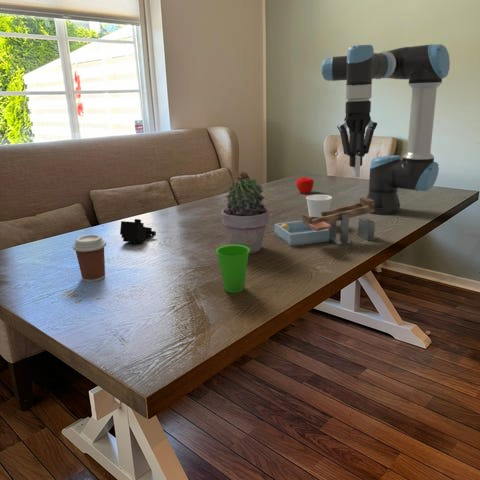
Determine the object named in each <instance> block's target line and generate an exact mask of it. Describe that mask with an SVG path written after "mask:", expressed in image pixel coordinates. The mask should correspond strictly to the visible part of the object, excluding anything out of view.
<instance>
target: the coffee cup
mask: <svg viewBox="0 0 480 480" xmlns="http://www.w3.org/2000/svg"><path fill="white" fill-rule="evenodd" d="M106 246H107V241H106V240H104V239H103V237H102V236H101V235H100V234H86V235H81V236H78V237H77V238H76V239H75V242H74V243H73V244H72V250H73V251H75V253H76V258H77V262H78V265H79V271H80V274H81V279H82V281H84V282H86V283H87V282H88V283H93V282H98V281H99V282H100V281H101V280H103V279H105V278H106V262H105V247H106Z"/></svg>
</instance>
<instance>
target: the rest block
mask: <svg viewBox="0 0 480 480" xmlns="http://www.w3.org/2000/svg"><path fill="white" fill-rule="evenodd" d="M375 224H376V222H375V221H373V220H371V219H369V218H368V217H359V218H358V225H357V227H358V229H357V236H358V237H360V238H362V239H364V240H365V241H367V242H368V241H369V242H370V241H374V240H375V230H376V229H375V227H376V225H375Z"/></svg>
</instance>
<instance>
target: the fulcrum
mask: <svg viewBox="0 0 480 480" xmlns="http://www.w3.org/2000/svg"><path fill="white" fill-rule="evenodd" d="M332 209H333V208H331V209H330V208H329V210H332ZM337 222H338V221H336V222H332V223H328V224H330V225H331V228H328V230H329V241H328V242H331V243H333V244H334V245H335V246H337V247H341V246H343V247H344V246H350V245H352V242H351V240H349V227H350V226H349V225H350V223H349V222H350V218H349V215H348V214H346V215H341V220H340V233H339V234H340V235H339V234H337Z"/></svg>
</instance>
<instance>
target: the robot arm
mask: <svg viewBox="0 0 480 480" xmlns="http://www.w3.org/2000/svg"><path fill="white" fill-rule="evenodd" d="M450 64H451V62H450V54H449V52H448V49H447V48H446V46H445V45H443V44H436V43H435V44H432V43H431V44H426V45H415V46H404V47H399V48H394V49H391V50H384V51H380V52H374V46H373V45H372V44H357V45H351V46H350V47H348V49H347V55H341V56H340V55H339V56H331V57H326V58H325V59H324V60H323V62H322V64H321V75H322V78H323V79H324V80H325V81H328V82H329V81H331V82H338V81H346V85H345V86H346V87H345V88H346V89H345V100H347V101H345V117H344V119H343V120H344V121H343V122H342V123H341V124H337V125H336V127H337V129H338V131H339V133H340V139H341V144H342V150H343V154H344V155H345V156H346V155H347V156H349V164H348V165H349V167H351V169H350V171H351V172H350V173H351V175H350V176H351V177H352V178H360V174H361V167H362V165H363V157H365V155H367V154H369V152H370V148H371V144H372V140H373V137H374V132H375V130H376V128H377V127H378V123H377V122H374V121H373V120H372V117H371V115H370V114H371V111H372V109H371V108H372V101H371V100H370V99H371V98H372V93H373V92H372V87H373V80H374V79H375V80H382V79H393V80H408V85H409V86H410V88H411V89H412V90H411V102H410V103H411V104H410V115H409V126H408V138H407V139H408V140H407V149H406V150H407V151H406V153H404V154H403V155H402V159H401V156H400V155H383V156H377V157H374V158H371V160H370V166H369V181H368V193H367V196H366V198H369V199H372V200H374V210H375V212H371V213H370V214H374V215H394V214H398V213H400V211H401V203H400V199H399V196H398V189H401V190H402V189H403V190H410V191H416V192H427V191H429V190H431V189H432V188H433V186H435V185H434V184H435V183H436V180H437V178H438V176H439V170H440V169H439V163H438V162H436V161H435V156H434V155H433V153H431V151H432V150H431V149H432V139H433V131H434V130H433V128H434V122H435V121H434V118H435V110H436V101H437V100H436V99H437V90H438V87H440V86H441V84H442V83H443V79H445V78H447V76H448V75H449V71H450ZM347 129H348V130H347Z"/></svg>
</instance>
